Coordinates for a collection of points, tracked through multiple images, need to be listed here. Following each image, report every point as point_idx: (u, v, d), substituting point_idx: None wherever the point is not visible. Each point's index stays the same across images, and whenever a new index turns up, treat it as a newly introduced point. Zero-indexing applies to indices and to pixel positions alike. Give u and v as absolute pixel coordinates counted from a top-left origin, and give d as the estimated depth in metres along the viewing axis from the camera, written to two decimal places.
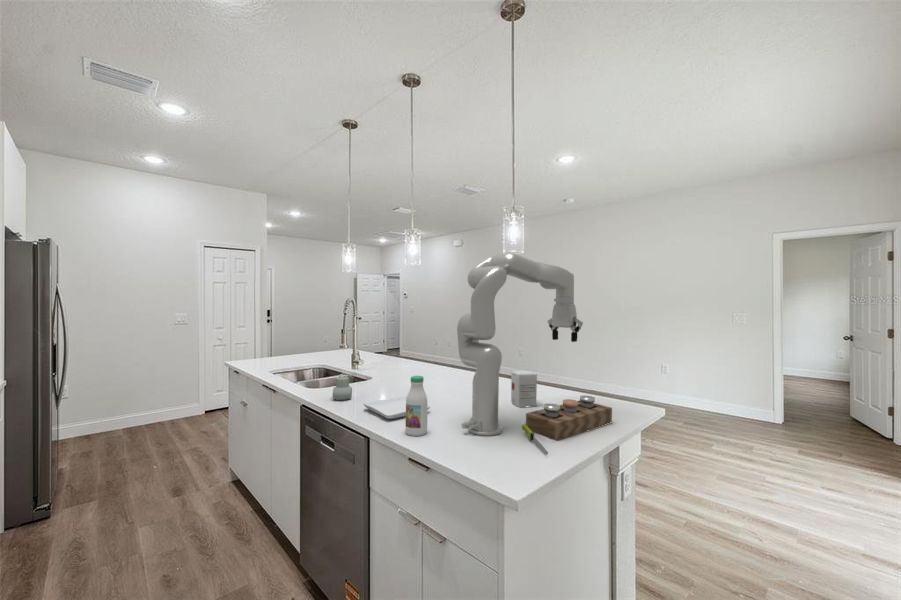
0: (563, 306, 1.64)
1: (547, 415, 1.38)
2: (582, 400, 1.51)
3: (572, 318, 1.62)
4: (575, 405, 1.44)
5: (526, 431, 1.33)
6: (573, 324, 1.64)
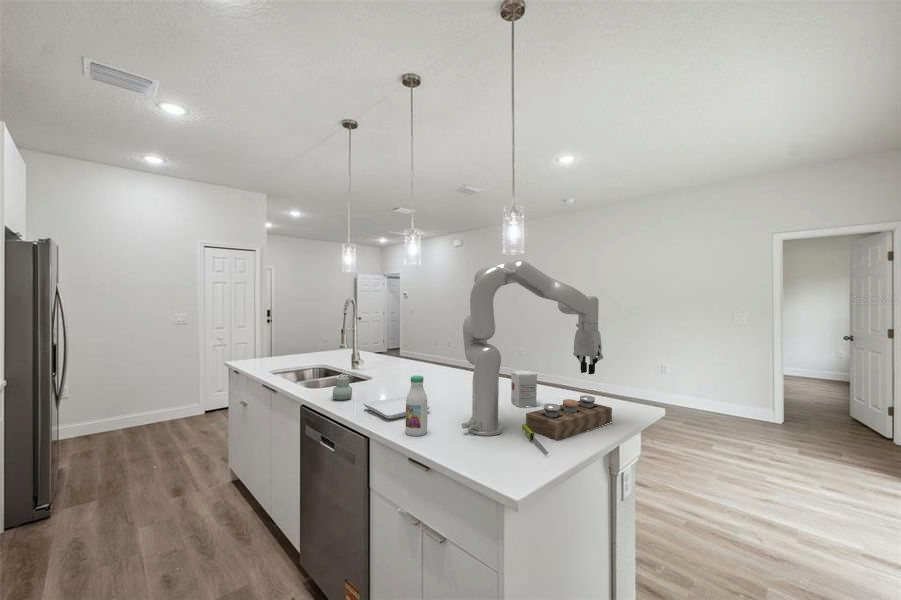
0: (586, 332, 1.50)
1: (547, 415, 1.38)
2: (582, 400, 1.51)
3: (597, 346, 1.48)
4: (575, 405, 1.44)
5: (526, 431, 1.33)
6: None
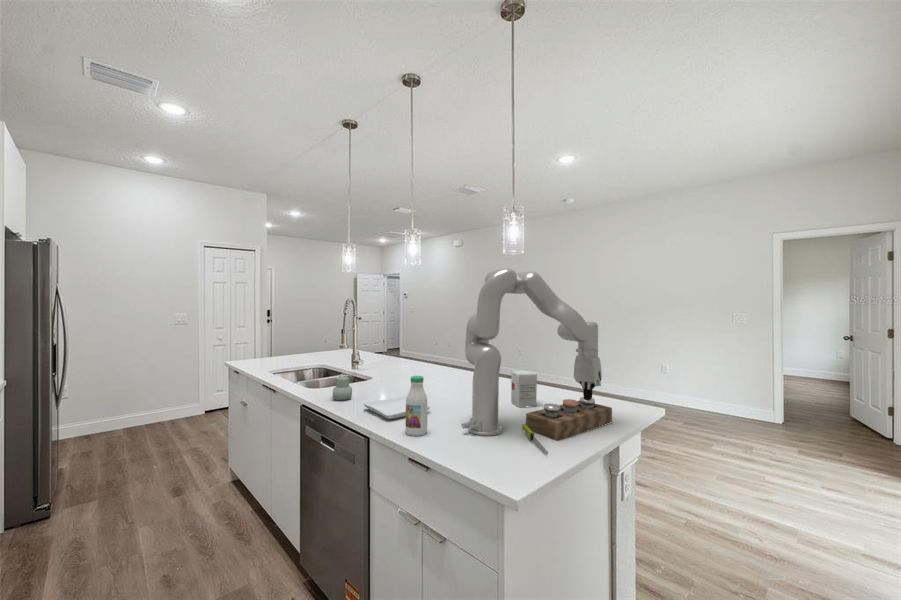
0: (586, 359, 1.50)
1: (547, 415, 1.38)
2: (582, 402, 1.51)
3: (597, 373, 1.48)
4: (575, 405, 1.44)
5: (526, 431, 1.33)
6: None
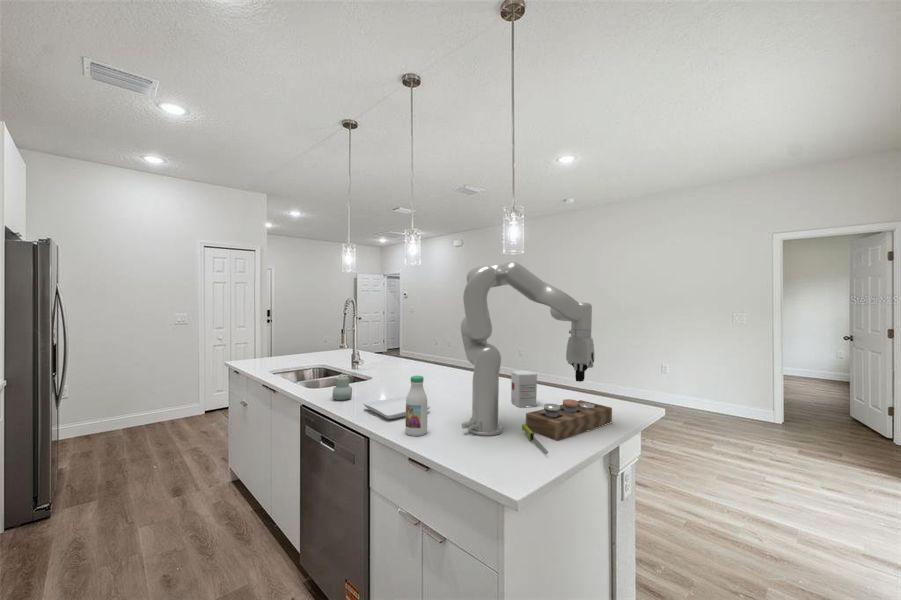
0: (579, 339, 1.48)
1: (547, 415, 1.38)
2: None
3: (589, 354, 1.45)
4: (575, 405, 1.44)
5: (526, 431, 1.33)
6: None
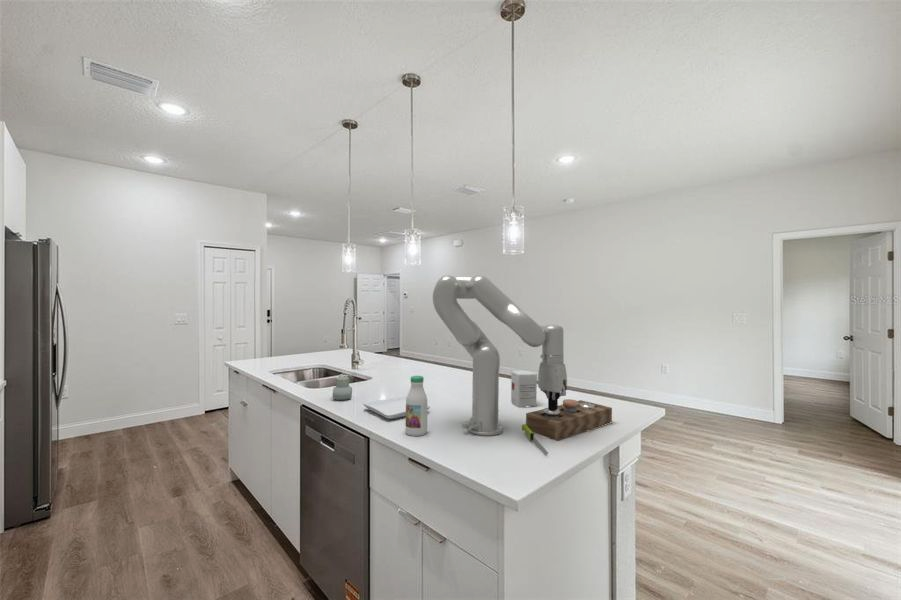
0: (550, 366, 1.37)
1: None
2: None
3: (561, 382, 1.35)
4: (575, 405, 1.44)
5: (526, 431, 1.33)
6: None
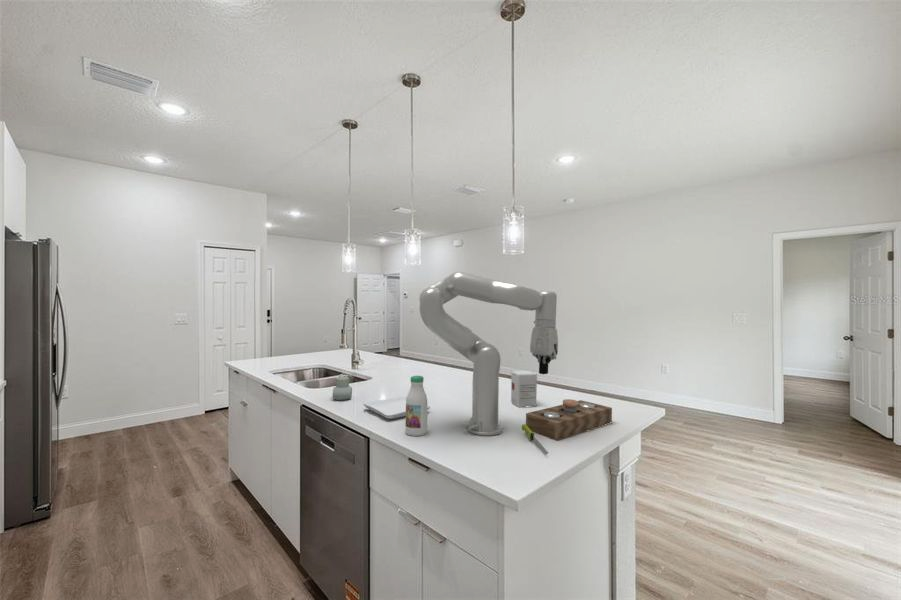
0: (542, 330, 1.41)
1: None
2: None
3: (552, 345, 1.38)
4: (575, 405, 1.44)
5: (526, 431, 1.33)
6: None
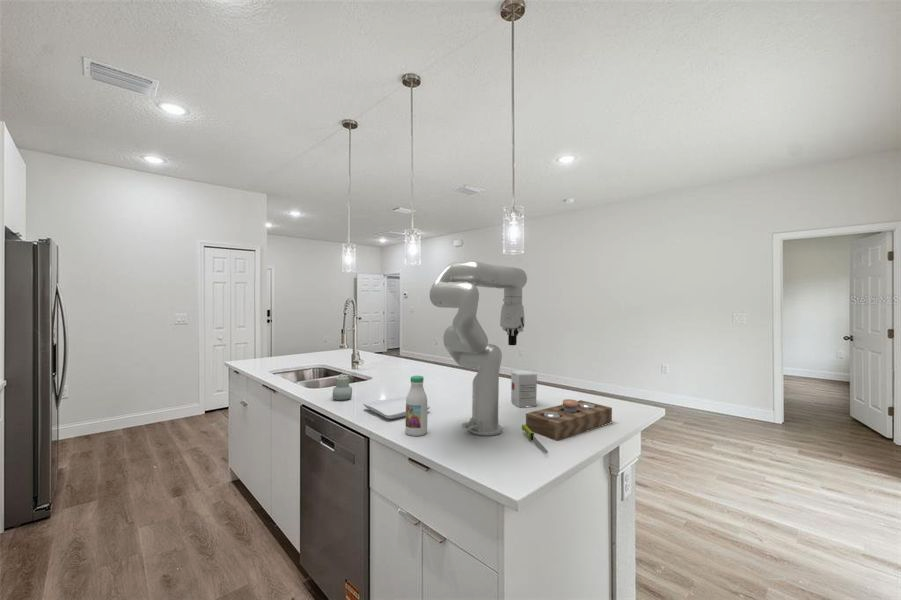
0: (510, 306, 1.57)
1: None
2: None
3: (519, 319, 1.55)
4: (575, 405, 1.44)
5: (526, 431, 1.33)
6: (517, 327, 1.59)
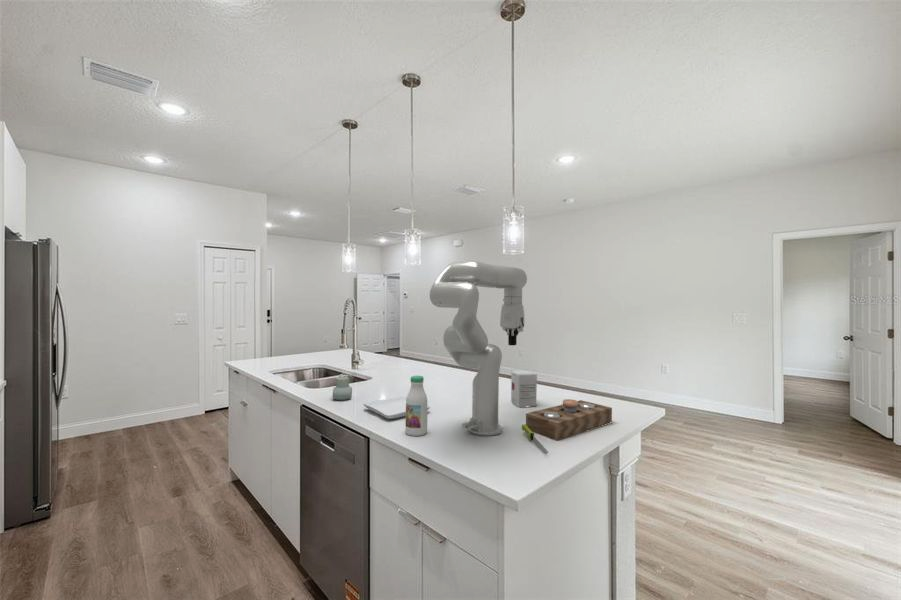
0: (510, 306, 1.57)
1: None
2: None
3: (519, 319, 1.55)
4: (575, 405, 1.44)
5: (526, 431, 1.33)
6: (517, 327, 1.59)
